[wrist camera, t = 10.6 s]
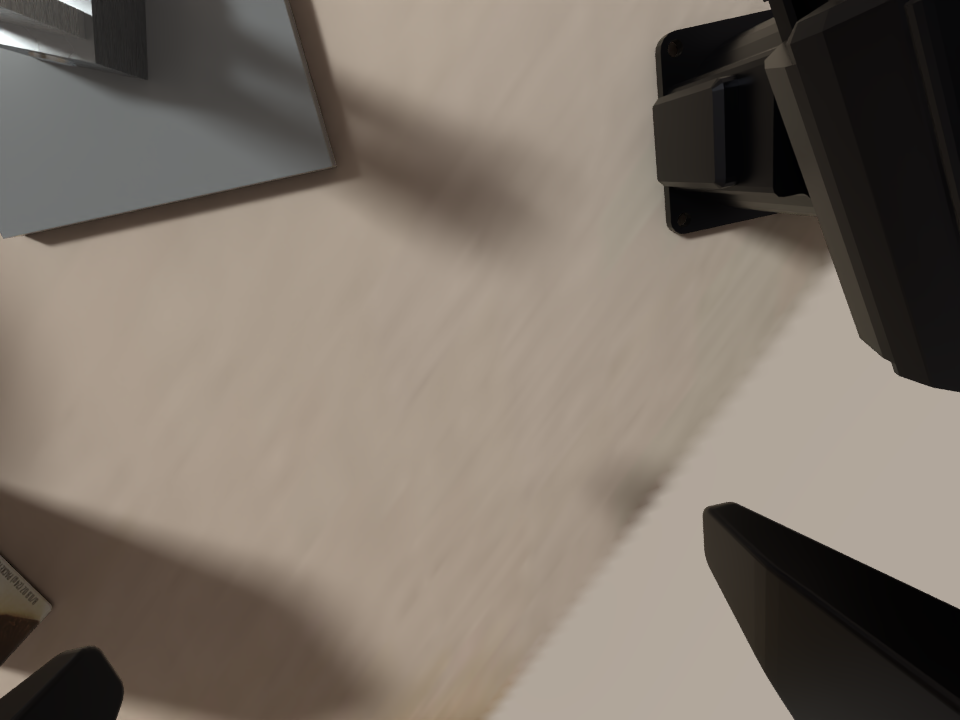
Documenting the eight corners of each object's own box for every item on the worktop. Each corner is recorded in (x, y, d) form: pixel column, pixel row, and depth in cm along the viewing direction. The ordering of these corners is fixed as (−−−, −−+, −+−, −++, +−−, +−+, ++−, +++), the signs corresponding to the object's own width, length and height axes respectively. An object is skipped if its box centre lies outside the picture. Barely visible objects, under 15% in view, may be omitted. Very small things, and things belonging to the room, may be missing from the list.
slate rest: (210, -272, 13) (196, -299, 12) (336, 166, 17) (332, 166, 16) (-200, -184, 13) (-239, -206, 12) (22, 235, 17) (3, 238, 16)
